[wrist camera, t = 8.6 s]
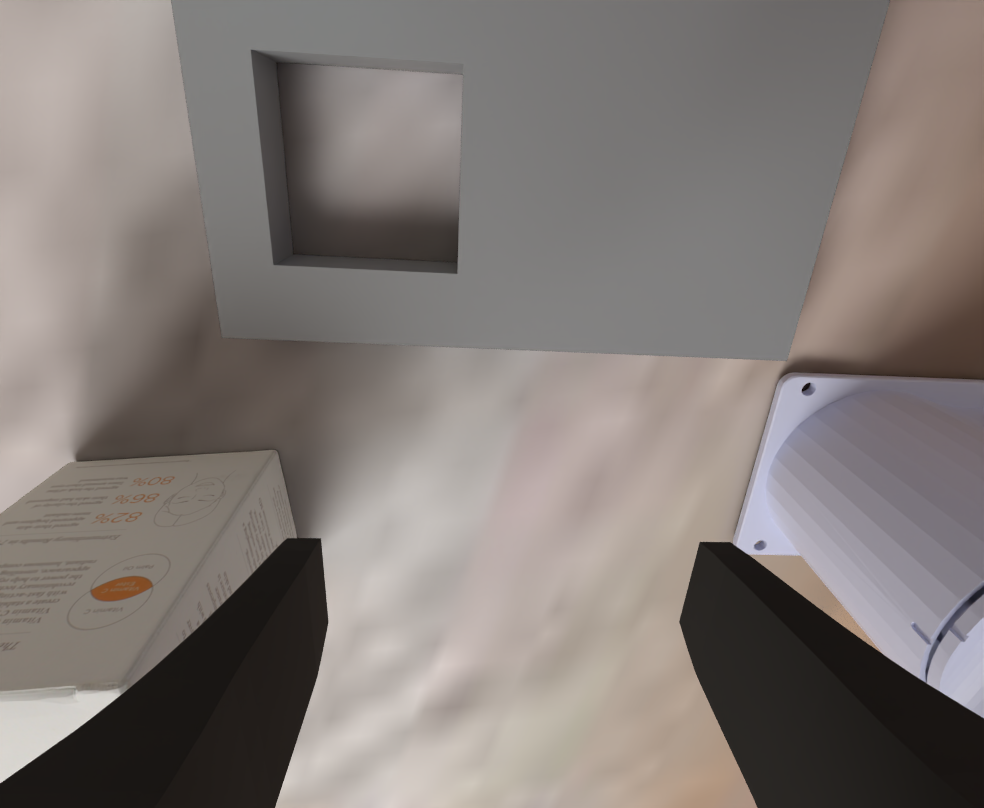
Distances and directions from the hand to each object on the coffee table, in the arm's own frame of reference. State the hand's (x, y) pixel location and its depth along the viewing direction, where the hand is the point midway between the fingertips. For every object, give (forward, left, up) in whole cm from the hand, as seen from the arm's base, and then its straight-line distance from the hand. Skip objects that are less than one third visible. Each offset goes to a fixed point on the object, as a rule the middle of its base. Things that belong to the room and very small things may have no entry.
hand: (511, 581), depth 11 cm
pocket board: (0, -7, -10) cm, 13 cm away
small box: (+12, +6, -11) cm, 17 cm away
